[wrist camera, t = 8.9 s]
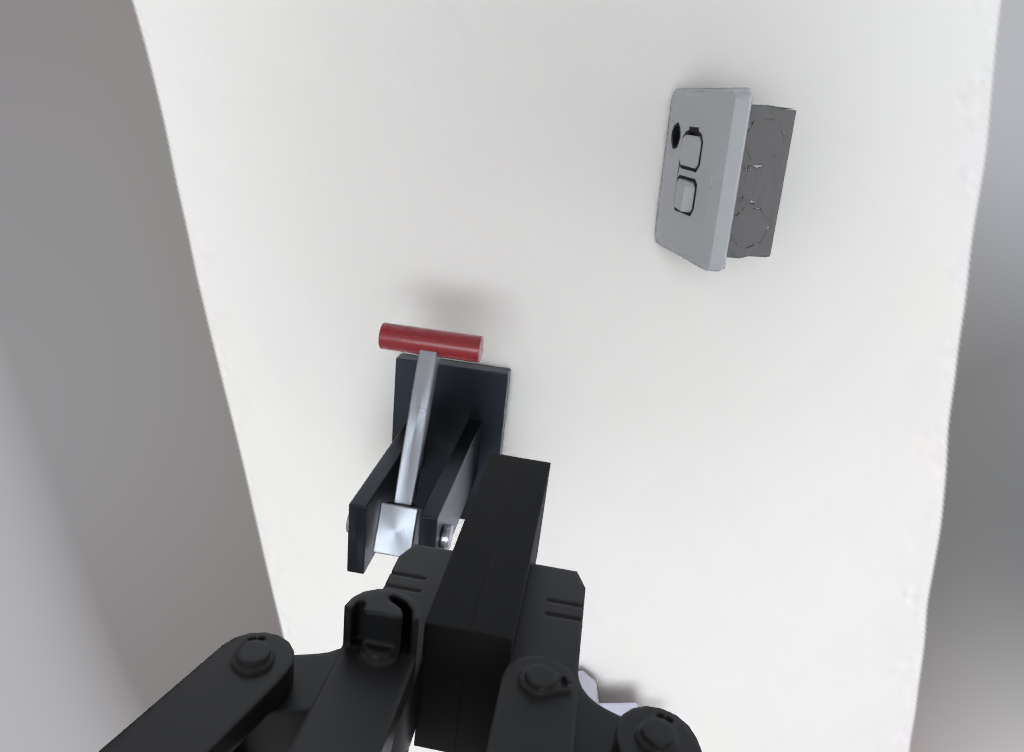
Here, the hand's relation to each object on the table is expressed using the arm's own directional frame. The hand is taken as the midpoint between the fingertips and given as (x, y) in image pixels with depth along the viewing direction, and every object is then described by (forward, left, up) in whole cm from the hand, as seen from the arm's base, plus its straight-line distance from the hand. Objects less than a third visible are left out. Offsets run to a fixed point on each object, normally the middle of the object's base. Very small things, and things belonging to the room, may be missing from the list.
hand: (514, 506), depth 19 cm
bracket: (+15, -7, -33) cm, 37 cm away
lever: (+11, -7, -23) cm, 27 cm away
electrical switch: (-7, +6, -33) cm, 35 cm away
